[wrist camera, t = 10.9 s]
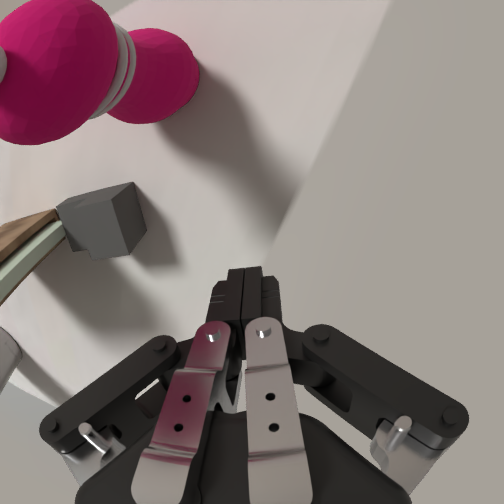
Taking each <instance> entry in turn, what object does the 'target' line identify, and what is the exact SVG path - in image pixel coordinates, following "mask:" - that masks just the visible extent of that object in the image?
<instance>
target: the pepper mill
mask: <svg viewBox="0 0 504 504" xmlns="http://www.w3.org/2000/svg"><path fill="white" fill-rule="evenodd" d="M198 83H199V68H198V64H197V62H196V60H195V58H194V56H193V53H192V51H191V50H190V48H189V46H188V45H187V44H186V43H185V42H184V41H183V40H182V39H181V38H180V37H178V36H177V35H175V34H172V33H170V32H167V31H164V30H160V29H154V28H146V29H138V30H133V31H130V32H127V31H126V30H125V29H124V28H122V27H121V26H119V25H118V24H116V23H113V22H112V21H111V19H110V17H109V15H108V14H107V13H106V11H104V9H103V8H102V7H100V6H99V5H97V4H96V3H95V2H93V1H91V0H31V1H29V2H26V3H25V4H23V5H22V6H20V7H18V8H17V9H16V10H14V11H13V12H12V13H10V14H9V15H8V16H7V17H5V18H4V19H3V21H2V22H1V23H0V138H1V139H3V140H4V141H7V142H10V143H13V144H19V145H40V144H43V143H47V142H51V141H54V140H58V139H60V138H62V137H64V136H66V135H68V134H70V133H71V132H73V131H74V130H76V129H77V128H79V127H80V126H81V125H82V124H84V123H85V122H86V121H87V120H88V119H93V118H96V117H99V116H100V115H102V114H104V113H108V114H109V115H111V116H113V117H114V118H116V119H118V120H121V121H123V122H126V123H132V124H148V123H153V122H157V121H160V120H163V119H165V118H167V117H169V116H170V115H172V114H173V113H174V112H176V111H177V110H178V109H179V108H181V107H182V106H184V105H185V104H186V103H187V102H188V101H189V100H190V99H191V98H192V96H193V95H194V93H195V91H196V89H197V87H198Z"/></svg>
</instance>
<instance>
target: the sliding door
mask: <svg viewBox="0 0 504 504" xmlns="http://www.w3.org/2000/svg"><path fill="white" fill-rule="evenodd" d="M65 235H66V233H65V230H64V228H63V225H62V222H61V221H57V222H53V223H49V224H45V225H44V226H43V227H41V228H40V229H39V230H38V231H37V232H35V233H34V234H33V235H32V236H30V237H29V238H28V239H27V240H26V241H25V242H23V243H22V244H21V245H20V246H19V247H18V248H16V249H15V250H14V251H13V252H12V253H11V254H10V255H9V256H7V257H6V258H5V259H4V260H3V261H2V262H1V263H0V302H1V301H2V300H3V298H4V297H5V296H6V295H7V294H8V293H9V292H10V291H11V289H12V288H13V287H14V286H15V285H16V284H17V283H18V282H19V281H20V280H21V279H22V278H23V276H24V275H25V274H26V273H27V272H28V271H29V270H30V269H31V268H32V267H33V266H34V265H35V264H36V263H37V262H38V261H39V260H40V259H41V258H42V257H43V256H44V255H45V254H46V253H47V252H48V251H49V250H50V249H51V248H53V247H54V246H55V245H56V244H57V243H58V242H59V241H60V240H61V239H62V238H63V237H64V236H65Z"/></svg>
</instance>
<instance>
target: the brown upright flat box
mask: <svg viewBox="0 0 504 504" xmlns="http://www.w3.org/2000/svg"><path fill="white" fill-rule="evenodd" d="M57 221H59V219H58V216H57V213H56V210H55V209H51V210H48V211H44V212H41V213H37V214H34V215H31V216H27V217H24V218H21V219H18V220H15V221H12V222H8V223H5V224H3V225H2V226H1V227H0V263H1V262H2V261H3V260H4V259H5V258H6V257H7V256H9V255H10V254H11V253H12V252H13V251H14V250H15V249H16V248H18V247H19V246H20V245H21V244H22V243H23V242H25V241H26V240H27V239H28V238H29V237H30V236H32V235H33V234H34V233H35V232H37V231H38V230H39V229H40V228H41V227H43V226H44V225H45V224H49V223H53V222H57ZM64 239H65V236H64V237H63V238H62V239H61V240H60V241H59V242H58V243H57V244H56V245H55V246H54V247H53V248H51V249H50V250H49V251H48V252H47V253H46V254H45V255H44V256H43V257H42V258H41V259H40V260H39V261H38V262H37V263H36V264H35V265H34V266H33V267H32V268H31V269H30V270H29V271H28V272H27V273H26V274H25V275H24V276H23V278H22V279H21V280H20V281H19V282H18V283H17V284H16V285H15V286H14V287H13V288H12V289H11V291H10V292H9V293H8V294H7V295H6V296H5V297H4V298H3V300H2V301H1V302H0V306H1V305H2V304H3V303H4V302H5V300H6V299H7V298H8V297H9V296H10V295H11V294H12V292H13V291H14V290H15V289H16V288H17V287H18V286H19V285H20V284H21V282H22V281H23V280H24V279H25V278H26V277H27V276H28V275H29V274H30V273H31V272H32V271H33V270H34V269H35V268H36V267H37V266H38V265H39V264H40V263H41V262H42V261H43V260H44V259H45V258H46V257H47V256H48V255H49V254H50V253H51V252H52V251H53V250H54V249H55V248H56V247H57V246H58V245H59V244H60V243H61V242H62V241H63V240H64Z"/></svg>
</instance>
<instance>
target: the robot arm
mask: <svg viewBox="0 0 504 504" xmlns="http://www.w3.org/2000/svg"><path fill="white" fill-rule="evenodd" d="M21 358H22V354H21V351H20V349H19V347H18V345H17V344H16V342H15V341H14V340H13V339H12V338H11V336H10V335H9V334H8V333H7V332H5V331H4V330H3V329H2V328H0V394H1V392H2V390H3V388H4V387H5V385H6V383H7V381H8V380H9V378H10V376H11V375H12V373H13V371H14V370H15V368H16V366H17V365H18V363H19V362H20V360H21ZM242 360H246V361H247V369H246V370H245V388H246V409H247V411H243V412H239V413H237V404H238V398H239V392H240V385H241V379H242V371H241V367H242ZM157 378H158V380H159V382H158V383H156V384H155V385H154V386H153V387H151V388H150V389H149V390H148V391H146V392H145V393H144V394H142V395H141V396H140V397H139V398H137V399H136V400H135V397H136V395H137V394H138V393H139V392H141V391H142V390H143V389H144V388H146V387H147V386H148V385H150V384H151V383H152V382H153V381H155V380H156V379H157ZM293 383H294V384H300V385H304V387H305V389H306V390H307V391H308V392H310V393H311V394H312V395H313V396H314V397H316V398H317V399H318V400H319V401H321V402H322V403H323V404H325V405H326V406H327V407H328V408H330V409H331V410H332V411H334V412H335V413H336V414H337V415H339V416H340V417H341V418H343V419H344V420H345V421H347V422H348V423H349V424H351V425H352V426H353V427H355V428H356V429H357V430H359V431H360V432H362V433H363V434H364V435H366V436H367V437H368V438H370V439H371V440H372V442H371V445H370V452H371V455H372V457H373V458H374V459H375V460H376V461H377V462H378V464H379V465H380V467H381V470H379V469H378V468H377V467H375V466H374V465H373V464H372V463H370V462H369V461H368V460H367V459H365V458H364V457H363V456H362V455H360V454H359V453H358V452H357V451H355V450H354V449H353V448H352V447H351V446H349V445H348V444H347V443H346V442H344V441H343V440H342V439H341V438H340V437H338V436H337V435H336V434H335V433H334V432H333V431H331V430H330V429H329V428H328V427H327V426H326V425H324V424H323V423H322V422H320V421H319V420H317V419H315V418H313V417H311V416H308V415H305V414H302V413H298V408H297V402H296V396H295V391H294V385H293ZM468 423H469V415H468V412H467V410H466V408H465V407H464V406H463V405H462V404H461V403H459V402H457V401H456V400H454V399H452V398H451V397H449V396H447V395H446V394H444V393H442V392H440V391H439V390H437V389H435V388H434V387H432V386H430V385H429V384H427V383H425V382H423V381H421V380H420V379H418V378H417V377H415V376H413V375H412V374H410V373H408V372H407V371H405V370H403V369H402V368H400V367H398V366H396V365H395V364H393V363H391V362H390V361H388V360H386V359H385V358H383V357H381V356H380V355H378V354H377V353H375V352H373V351H371V350H370V349H368V348H366V347H365V346H363V345H361V344H360V343H358V342H357V341H355V340H353V339H352V338H350V337H349V336H347V335H345V334H344V333H342V332H340V331H339V330H337V329H335V328H334V327H332V326H329V325H324V324H320V325H314V326H311V327H309V328H308V329H307V330H305V332H304V333H303V332H297V331H293V330H290V329H288V328H287V327H286V326H285V325H284V324H283V322H282V311H281V300H280V292H279V282H278V281H277V279H276V278H275V277H274V276H265V277H263V274H262V267H261V266H257V267H247V268H238V269H229V271H228V276H227V280H225V281H218V282H217V284H216V285H215V286H214V287H213V290H212V294H211V299H210V303H209V308H208V313H207V317H206V322H205V324H203V325H202V326H200V327H199V328H198V330H197V332H196V334H195V337H193V338H191V339H188V340H185V341H181V342H178V343H176V340H175V339H174V338H173V337H171V336H167V335H161V336H157V337H154V338H152V339H151V340H149V341H148V342H147V343H145V344H144V345H143V346H141V347H140V348H139V349H137V350H136V351H135V352H133V353H132V354H131V355H129V356H128V357H126V358H125V359H124V360H122V361H121V362H120V363H118V364H117V365H116V366H114V367H113V368H112V369H110V370H109V371H107V372H106V373H105V374H103V375H102V376H101V377H99V378H98V379H96V380H95V381H94V382H92V383H91V384H90V385H88V386H87V387H86V388H84V389H83V390H81V391H80V392H79V393H77V394H76V395H75V396H73V397H72V398H70V399H69V400H68V401H66V402H65V403H64V404H62V405H61V406H59V407H58V408H57V409H55V410H54V411H52V412H51V413H50V414H48V415H47V416H46V417H45V418H44V419H43V420H42V422H41V424H40V428H39V432H40V436H41V438H42V439H43V440H44V441H45V442H47V443H48V444H49V445H50V446H51V447H53V448H54V450H55V451H56V452H58V453H59V454H60V455H61V456H62V457H63V459H64V461H65V462H66V464H67V466H68V467H69V469H70V470H71V472H72V474H73V476H74V477H75V479H76V480H77V482H78V484H79V485H80V488H79V490H78V492H77V494H76V498H75V504H412V501H411V499H410V497H409V495H410V494H411V492H412V491H413V490H414V489H415V488H416V486H417V485H418V484H419V483H420V482H421V480H422V479H423V478H424V476H425V475H426V474H427V473H428V471H429V470H430V468H431V467H432V466H433V464H434V463H435V462H436V461H437V460H438V459H439V458H440V457H441V456H442V455H443V454H444V453H445V452H446V451H447V450H448V448H449V447H450V446H451V445H452V444H453V443H454V442H455V441H456V440H457V439H458V438H459V437H460V435H461V434H462V433H463V432H464V431H465V430H466V428H467V426H468Z"/></svg>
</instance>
